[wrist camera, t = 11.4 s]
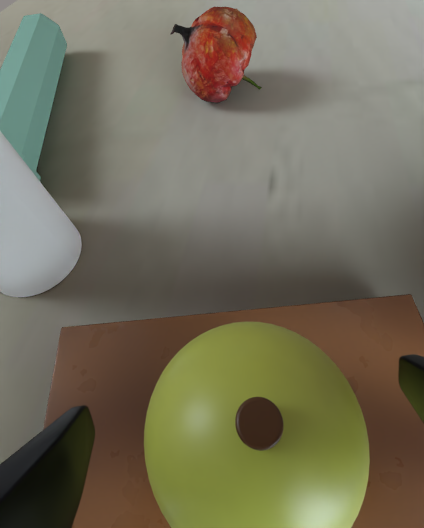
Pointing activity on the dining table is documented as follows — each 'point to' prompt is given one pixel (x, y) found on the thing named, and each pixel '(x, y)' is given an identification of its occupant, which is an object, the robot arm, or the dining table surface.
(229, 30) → the red rounded lumpy piece
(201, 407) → the pear
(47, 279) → the cylindrical container
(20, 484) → the robot arm
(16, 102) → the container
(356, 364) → the board
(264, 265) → the dining table surface
